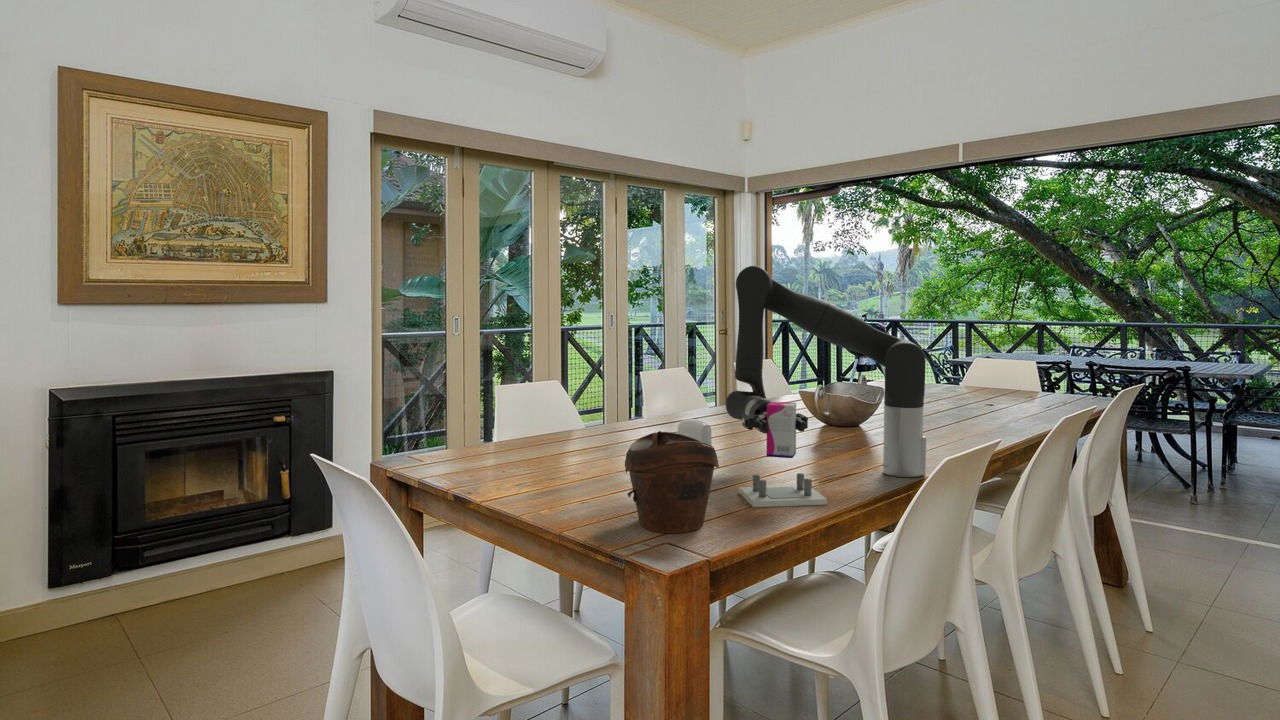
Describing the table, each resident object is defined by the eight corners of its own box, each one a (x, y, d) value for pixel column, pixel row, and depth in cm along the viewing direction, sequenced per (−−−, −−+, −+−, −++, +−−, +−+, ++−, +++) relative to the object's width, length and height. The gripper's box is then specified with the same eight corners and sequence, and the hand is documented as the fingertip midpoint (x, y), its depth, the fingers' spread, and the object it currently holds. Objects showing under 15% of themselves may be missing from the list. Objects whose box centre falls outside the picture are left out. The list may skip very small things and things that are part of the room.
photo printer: (675, 463, 195) (675, 418, 194) (687, 461, 198) (687, 416, 197) (702, 470, 187) (702, 422, 186) (714, 467, 190) (714, 420, 189)
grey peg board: (807, 490, 166) (808, 470, 165) (826, 504, 154) (827, 482, 154) (739, 492, 164) (739, 472, 164) (753, 507, 152) (753, 485, 152)
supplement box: (796, 453, 160) (797, 401, 159) (792, 458, 155) (793, 405, 154) (770, 451, 162) (770, 400, 161) (765, 456, 157) (766, 404, 156)
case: (658, 503, 155) (657, 421, 153) (738, 521, 142) (738, 431, 140) (601, 525, 141) (600, 434, 139) (685, 547, 128) (684, 447, 127)
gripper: (734, 399, 171) (752, 410, 155) (793, 399, 172) (817, 409, 156) (734, 431, 172) (752, 445, 155) (792, 430, 173) (816, 443, 157)
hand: (784, 427), depth 156 cm, fingers closed on supplement box, 7 cm apart
